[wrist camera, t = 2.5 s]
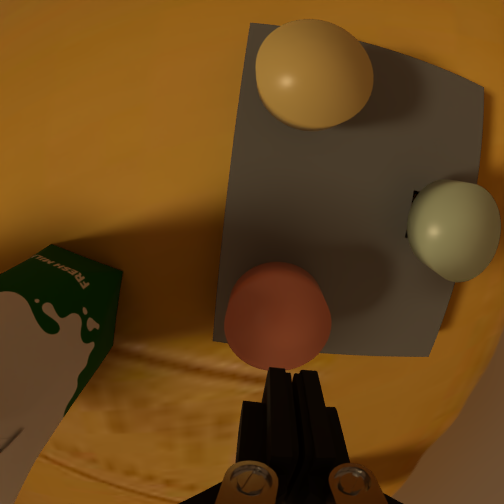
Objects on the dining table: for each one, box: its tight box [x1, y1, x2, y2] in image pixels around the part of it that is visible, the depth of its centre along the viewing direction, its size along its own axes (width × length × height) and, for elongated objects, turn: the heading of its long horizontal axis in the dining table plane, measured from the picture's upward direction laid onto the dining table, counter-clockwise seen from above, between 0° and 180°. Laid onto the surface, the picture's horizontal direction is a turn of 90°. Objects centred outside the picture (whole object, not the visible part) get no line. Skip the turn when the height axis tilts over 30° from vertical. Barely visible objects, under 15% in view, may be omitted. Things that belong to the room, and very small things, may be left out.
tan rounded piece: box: [255, 19, 373, 131], centre depth 14 cm, size 5×5×5 cm
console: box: [213, 23, 484, 357], centre depth 19 cm, size 20×16×3 cm
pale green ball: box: [407, 179, 501, 282], centre depth 16 cm, size 5×5×5 cm
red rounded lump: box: [224, 262, 331, 370], centre depth 18 cm, size 5×5×5 cm
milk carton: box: [0, 244, 123, 504], centre depth 14 cm, size 9×9×20 cm
